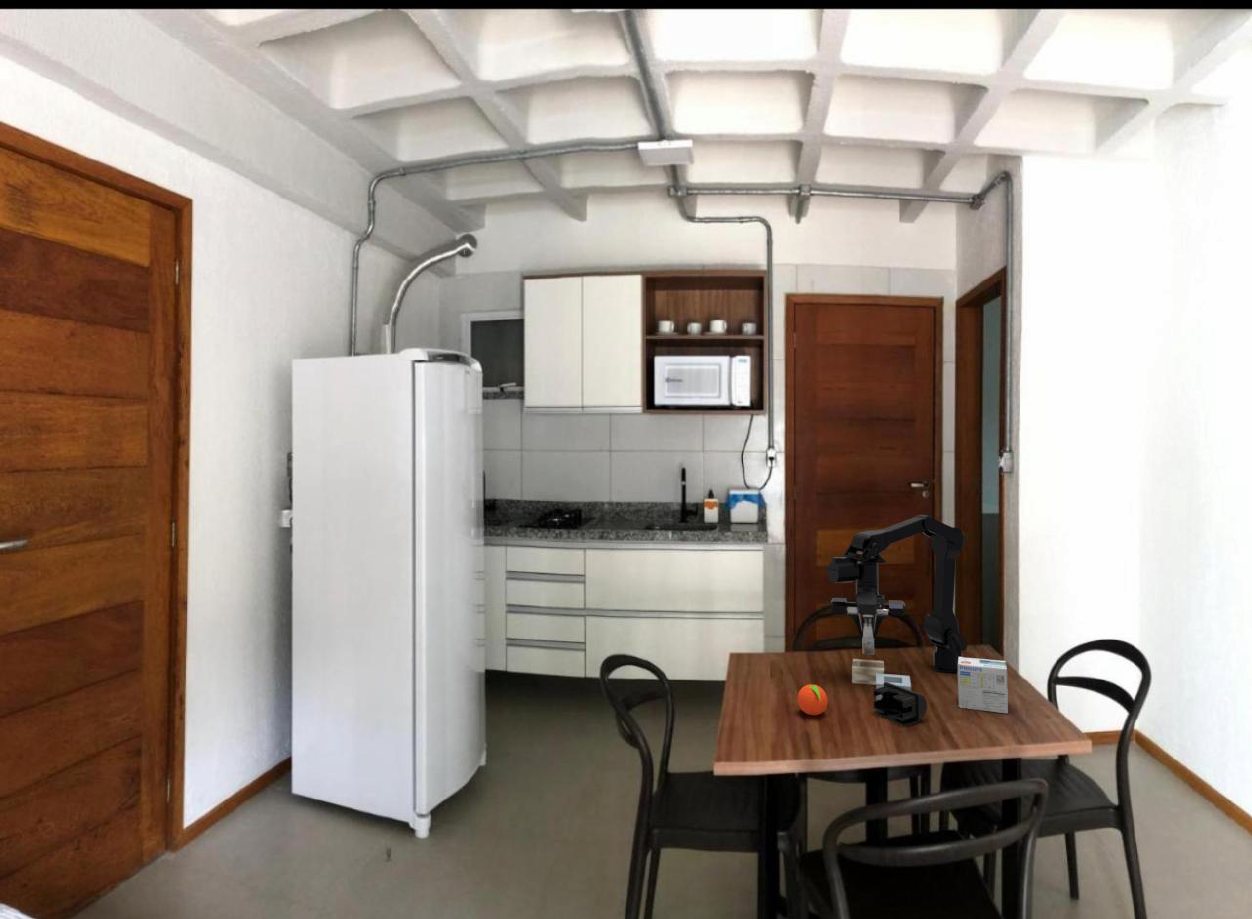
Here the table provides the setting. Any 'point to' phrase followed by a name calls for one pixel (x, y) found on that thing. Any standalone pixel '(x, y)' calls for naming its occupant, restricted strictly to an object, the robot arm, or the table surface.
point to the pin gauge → (868, 634)
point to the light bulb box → (982, 684)
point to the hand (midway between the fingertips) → (868, 638)
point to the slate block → (892, 681)
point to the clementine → (812, 699)
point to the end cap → (899, 704)
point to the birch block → (866, 671)
